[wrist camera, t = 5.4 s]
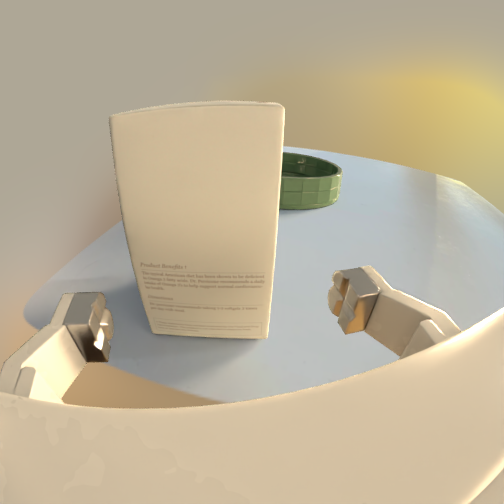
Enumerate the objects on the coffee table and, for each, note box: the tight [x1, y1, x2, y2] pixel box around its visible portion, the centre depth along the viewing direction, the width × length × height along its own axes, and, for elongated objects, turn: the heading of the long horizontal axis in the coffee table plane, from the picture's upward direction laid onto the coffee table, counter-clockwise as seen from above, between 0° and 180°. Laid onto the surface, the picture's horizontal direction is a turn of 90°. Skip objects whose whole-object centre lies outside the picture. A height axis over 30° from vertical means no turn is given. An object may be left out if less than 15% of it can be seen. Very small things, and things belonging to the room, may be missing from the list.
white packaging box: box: [109, 101, 285, 339], centre depth 15 cm, size 7×7×13 cm
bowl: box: [279, 152, 343, 209], centre depth 39 cm, size 17×17×4 cm
